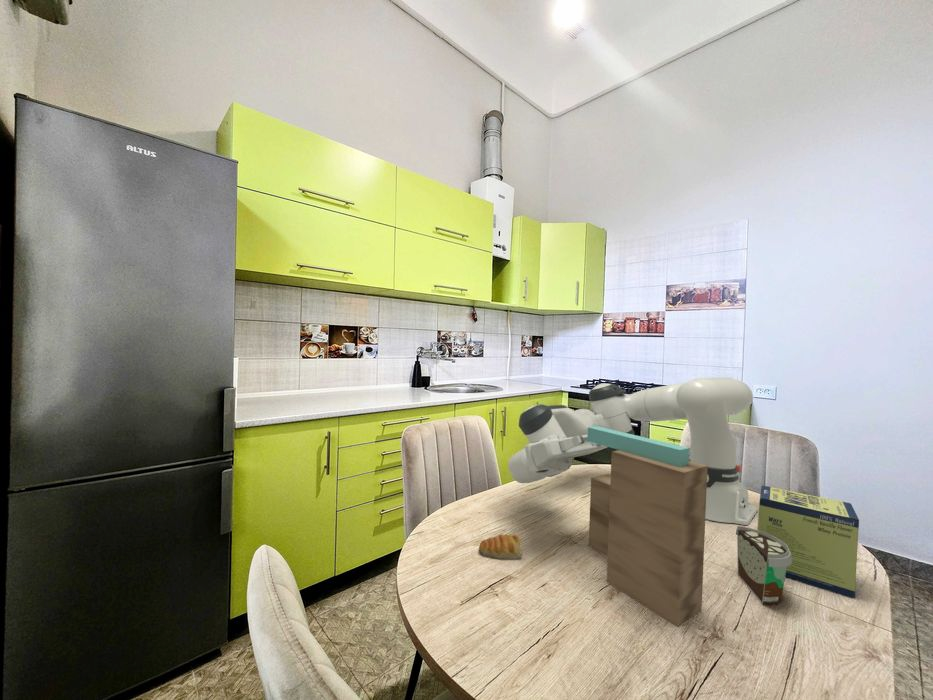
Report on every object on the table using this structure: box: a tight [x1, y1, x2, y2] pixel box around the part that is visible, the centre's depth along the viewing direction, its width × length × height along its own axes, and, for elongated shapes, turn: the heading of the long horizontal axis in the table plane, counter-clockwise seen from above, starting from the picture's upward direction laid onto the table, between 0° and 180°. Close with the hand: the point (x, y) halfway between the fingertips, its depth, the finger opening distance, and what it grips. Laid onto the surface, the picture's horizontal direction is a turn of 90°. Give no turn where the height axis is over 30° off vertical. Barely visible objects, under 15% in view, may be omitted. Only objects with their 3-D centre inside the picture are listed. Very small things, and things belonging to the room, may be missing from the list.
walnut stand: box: [588, 449, 707, 627], centre depth 80 cm, size 18×25×26 cm
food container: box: [735, 525, 792, 607], centre depth 75 cm, size 12×6×10 cm, turn 168°
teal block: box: [587, 426, 690, 467], centre depth 76 cm, size 3×20×3 cm, turn 33°
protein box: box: [756, 485, 860, 599], centre depth 82 cm, size 10×16×16 cm
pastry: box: [478, 533, 523, 560], centre depth 86 cm, size 9×7×4 cm
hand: (595, 437), depth 84 cm, fingers open, 8 cm apart
